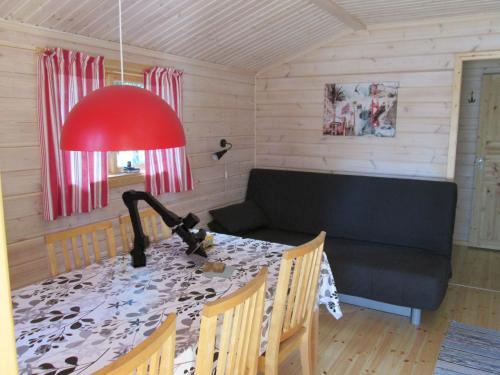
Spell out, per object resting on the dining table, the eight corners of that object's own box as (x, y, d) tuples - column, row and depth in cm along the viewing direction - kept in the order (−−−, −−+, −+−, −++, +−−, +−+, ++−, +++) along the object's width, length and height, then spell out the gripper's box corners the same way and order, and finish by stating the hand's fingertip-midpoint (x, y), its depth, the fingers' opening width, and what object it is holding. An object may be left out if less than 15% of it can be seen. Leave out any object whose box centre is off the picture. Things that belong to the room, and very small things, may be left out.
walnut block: (202, 265, 213) (222, 267, 212) (205, 261, 220) (224, 262, 218) (202, 271, 213) (222, 273, 212) (205, 267, 220) (224, 268, 219)
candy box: (194, 254, 241) (194, 240, 240) (191, 254, 243) (191, 239, 241) (213, 248, 254) (213, 234, 253) (210, 247, 255) (211, 234, 254)
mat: (202, 275, 209) (202, 275, 209) (209, 264, 225) (209, 264, 225) (230, 277, 207) (230, 276, 207) (236, 266, 223) (236, 266, 223)
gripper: (191, 229, 205) (214, 252, 205) (201, 220, 223) (222, 242, 223) (175, 244, 207) (198, 267, 207) (186, 234, 225) (207, 255, 225)
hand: (207, 257), depth 216 cm, fingers closed
